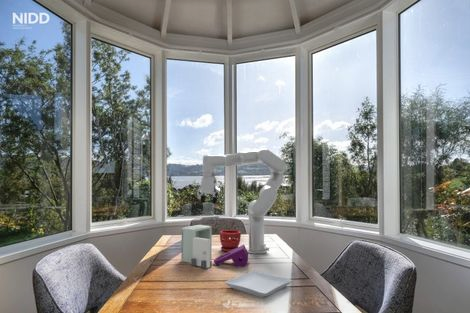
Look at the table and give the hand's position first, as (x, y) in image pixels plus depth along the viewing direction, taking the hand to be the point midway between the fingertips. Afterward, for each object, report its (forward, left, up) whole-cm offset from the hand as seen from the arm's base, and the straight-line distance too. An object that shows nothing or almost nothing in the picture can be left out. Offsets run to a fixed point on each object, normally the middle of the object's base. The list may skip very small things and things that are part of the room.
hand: (208, 203), depth 193 cm
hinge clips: (-15, +24, -30) cm, 41 cm away
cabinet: (-4, +15, -30) cm, 34 cm away
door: (-15, +24, -30) cm, 41 cm away
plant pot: (-7, -13, -31) cm, 34 cm away
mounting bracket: (-25, +11, -31) cm, 41 cm away
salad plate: (-55, +32, -31) cm, 71 cm away
